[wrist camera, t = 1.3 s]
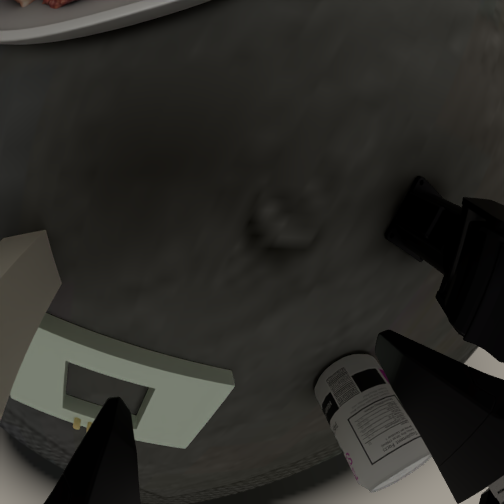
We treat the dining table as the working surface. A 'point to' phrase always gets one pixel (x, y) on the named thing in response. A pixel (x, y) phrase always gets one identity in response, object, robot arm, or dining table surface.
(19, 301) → the grey tall block
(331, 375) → the supplement can
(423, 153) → the dining table surface
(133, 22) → the bowl
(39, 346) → the board
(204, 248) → the dining table surface
